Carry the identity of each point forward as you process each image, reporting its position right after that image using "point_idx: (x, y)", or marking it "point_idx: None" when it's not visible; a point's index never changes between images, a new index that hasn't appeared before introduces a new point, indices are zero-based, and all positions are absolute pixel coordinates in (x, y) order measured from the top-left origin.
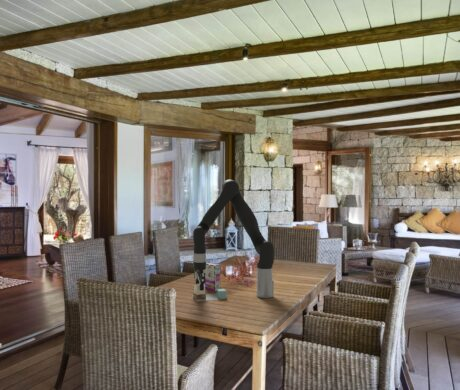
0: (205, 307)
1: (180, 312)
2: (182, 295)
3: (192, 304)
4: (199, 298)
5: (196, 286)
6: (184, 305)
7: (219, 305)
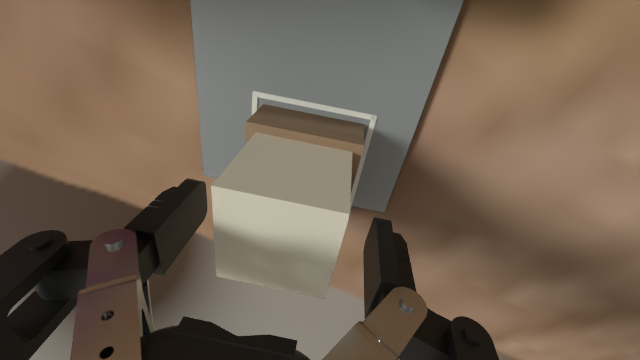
0: (542, 226)
1: None
2: None
3: None
4: None
5: (314, 289)
6: None
7: (621, 105)
